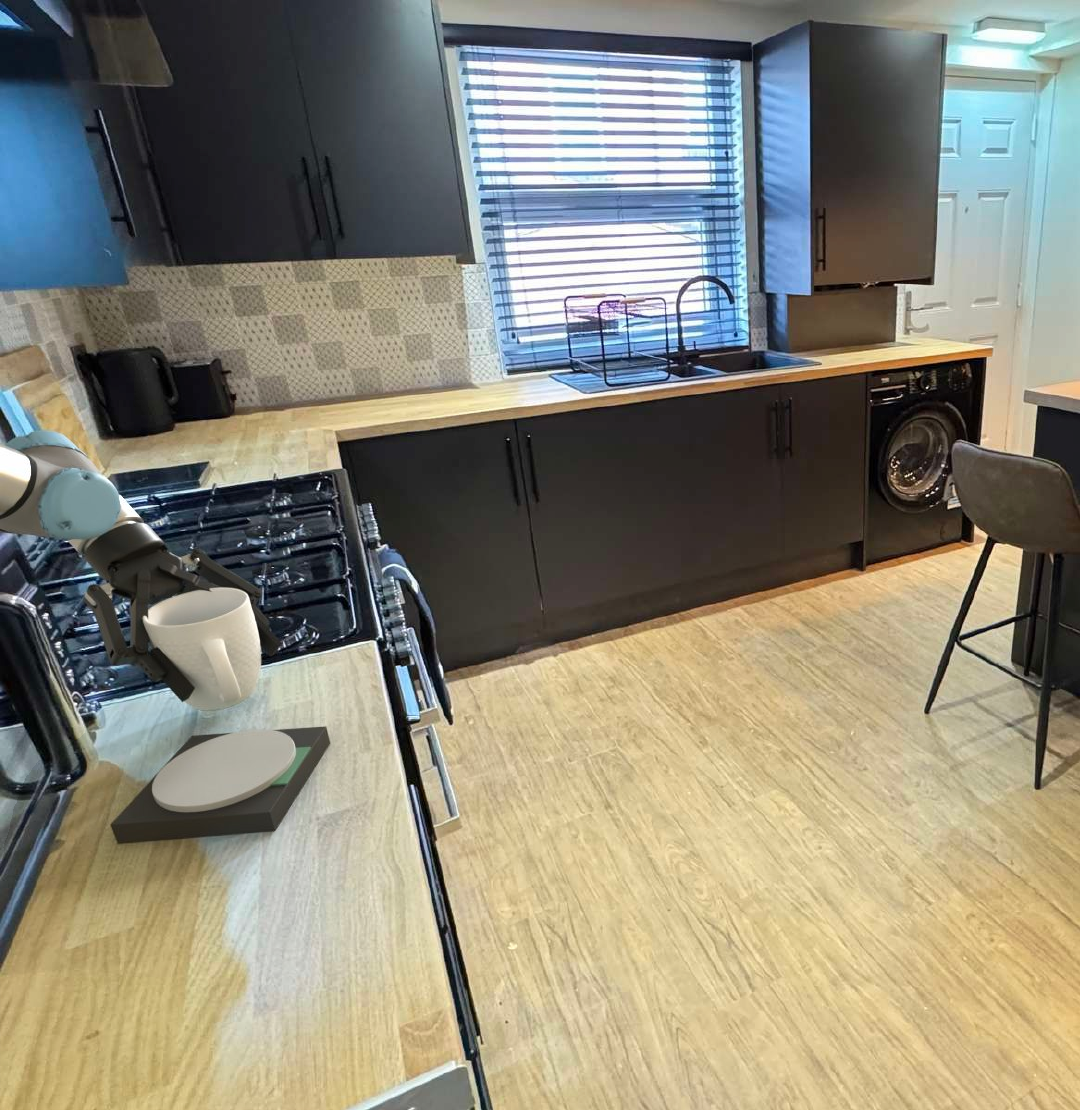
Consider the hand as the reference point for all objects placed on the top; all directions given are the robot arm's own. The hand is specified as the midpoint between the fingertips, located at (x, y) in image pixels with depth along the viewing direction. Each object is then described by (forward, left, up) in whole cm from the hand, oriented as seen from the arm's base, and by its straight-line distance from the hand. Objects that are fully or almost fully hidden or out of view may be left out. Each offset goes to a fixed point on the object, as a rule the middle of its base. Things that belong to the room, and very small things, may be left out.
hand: (234, 671), depth 97 cm
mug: (-3, +1, -5) cm, 6 cm away
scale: (+6, -16, -6) cm, 18 cm away
